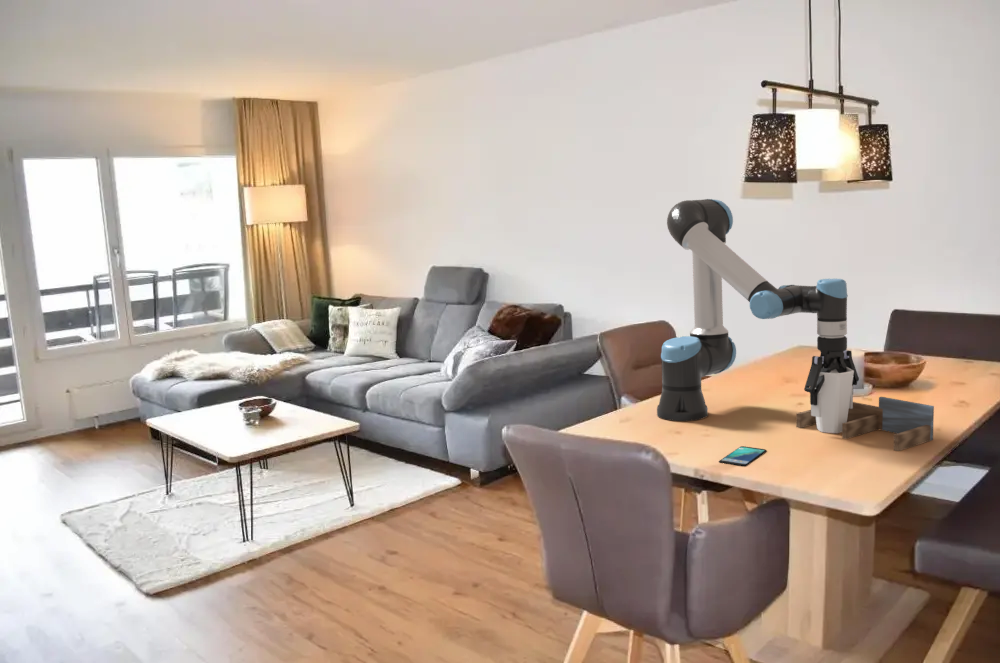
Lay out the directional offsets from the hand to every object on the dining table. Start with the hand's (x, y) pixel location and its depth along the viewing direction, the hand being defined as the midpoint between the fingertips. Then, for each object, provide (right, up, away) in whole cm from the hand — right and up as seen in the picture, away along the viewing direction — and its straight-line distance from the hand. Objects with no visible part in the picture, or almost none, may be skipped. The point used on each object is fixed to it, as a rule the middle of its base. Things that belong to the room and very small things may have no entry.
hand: (832, 412), depth 226 cm
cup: (0, -5, +1) cm, 5 cm away
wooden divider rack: (+7, -5, -4) cm, 9 cm away
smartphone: (-30, -10, -18) cm, 36 cm away
